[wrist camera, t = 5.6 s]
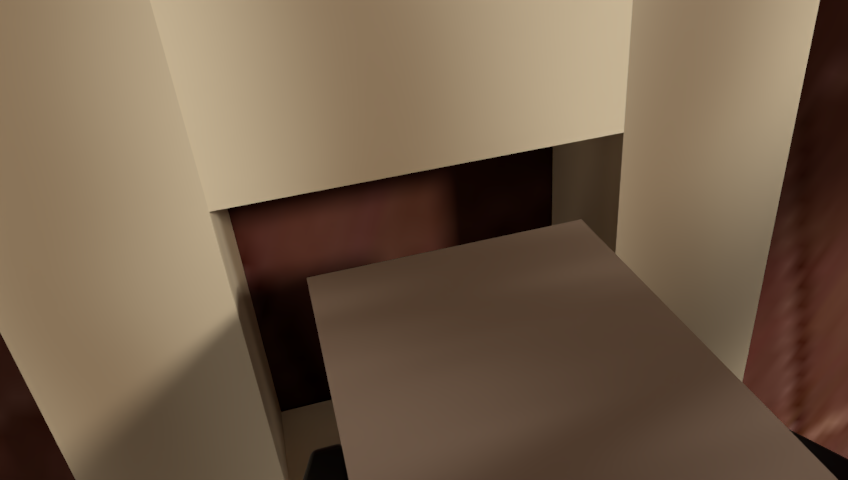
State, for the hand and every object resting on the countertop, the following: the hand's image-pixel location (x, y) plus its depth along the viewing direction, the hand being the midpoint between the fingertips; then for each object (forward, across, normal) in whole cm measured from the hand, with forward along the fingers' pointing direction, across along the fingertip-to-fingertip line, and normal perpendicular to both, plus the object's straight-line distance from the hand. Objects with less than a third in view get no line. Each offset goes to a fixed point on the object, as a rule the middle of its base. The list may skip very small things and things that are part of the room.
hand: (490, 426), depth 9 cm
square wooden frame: (+5, 0, 0) cm, 5 cm away
